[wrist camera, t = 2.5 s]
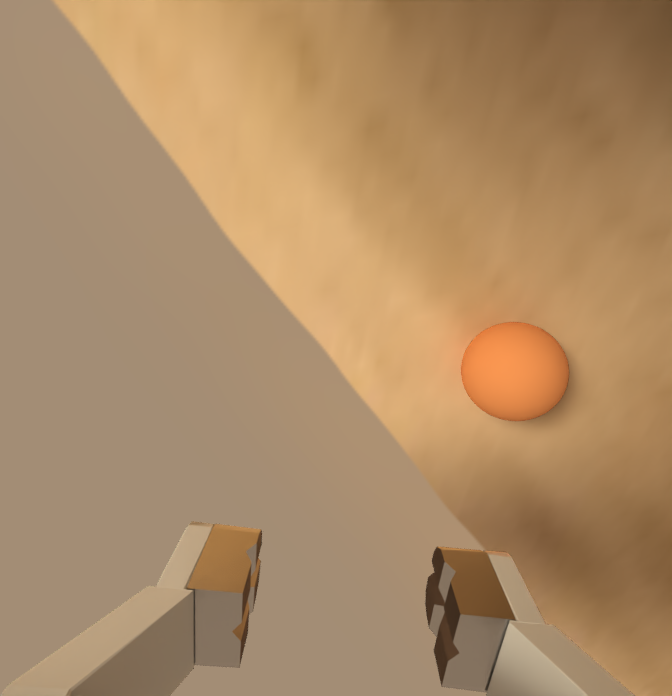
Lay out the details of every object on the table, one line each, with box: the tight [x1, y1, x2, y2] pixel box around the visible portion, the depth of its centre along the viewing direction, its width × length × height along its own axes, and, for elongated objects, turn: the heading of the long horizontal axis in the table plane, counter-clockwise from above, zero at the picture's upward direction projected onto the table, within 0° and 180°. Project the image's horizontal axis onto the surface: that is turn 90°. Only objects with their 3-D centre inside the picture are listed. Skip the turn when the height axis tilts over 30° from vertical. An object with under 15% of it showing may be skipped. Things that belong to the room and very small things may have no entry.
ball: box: [461, 322, 569, 421], centre depth 23 cm, size 6×6×6 cm
